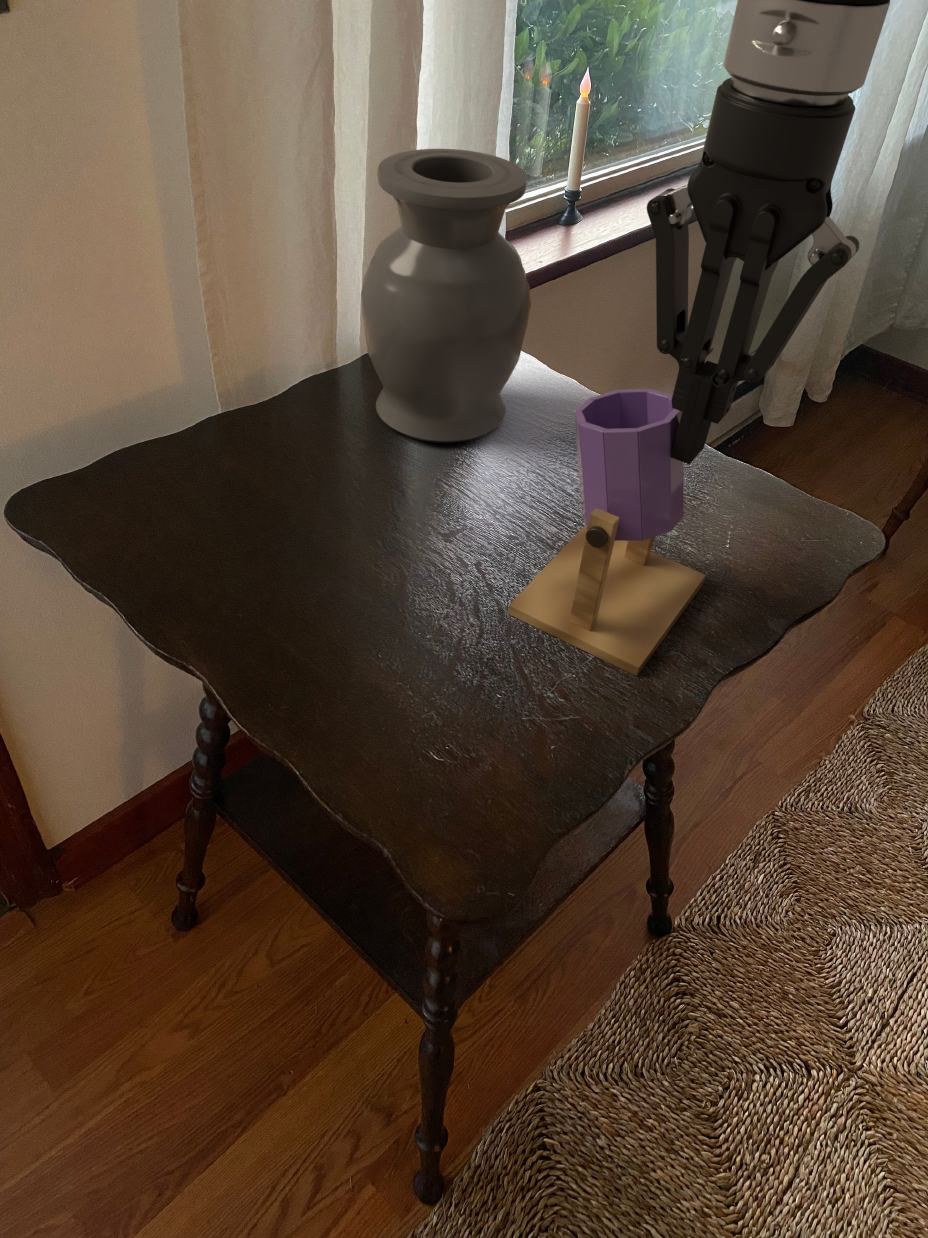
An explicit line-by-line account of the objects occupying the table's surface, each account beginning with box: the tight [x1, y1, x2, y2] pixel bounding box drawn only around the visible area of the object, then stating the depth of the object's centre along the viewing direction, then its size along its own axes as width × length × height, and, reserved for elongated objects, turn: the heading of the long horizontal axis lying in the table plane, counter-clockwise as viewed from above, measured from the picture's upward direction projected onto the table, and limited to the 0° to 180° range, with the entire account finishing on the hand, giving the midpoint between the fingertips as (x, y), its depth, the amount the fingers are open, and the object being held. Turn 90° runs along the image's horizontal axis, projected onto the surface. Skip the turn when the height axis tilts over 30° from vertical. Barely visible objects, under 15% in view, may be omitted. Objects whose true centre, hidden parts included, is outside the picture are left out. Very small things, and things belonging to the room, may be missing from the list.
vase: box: [360, 148, 532, 444], centre depth 89 cm, size 17×17×25 cm
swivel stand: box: [507, 508, 707, 677], centre depth 73 cm, size 12×14×12 cm
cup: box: [573, 388, 685, 542], centre depth 68 cm, size 8×9×9 cm
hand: (687, 452), depth 65 cm, fingers closed
